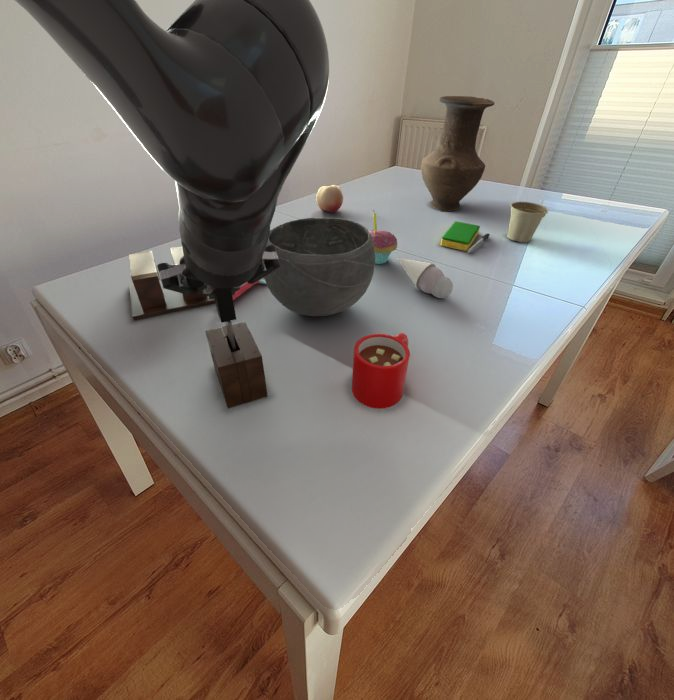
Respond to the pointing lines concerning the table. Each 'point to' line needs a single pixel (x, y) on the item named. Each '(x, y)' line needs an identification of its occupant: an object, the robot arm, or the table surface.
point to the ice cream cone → (427, 277)
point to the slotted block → (157, 289)
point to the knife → (478, 243)
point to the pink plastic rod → (247, 287)
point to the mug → (380, 369)
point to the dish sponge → (460, 236)
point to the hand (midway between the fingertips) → (219, 290)
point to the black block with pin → (226, 311)
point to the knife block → (237, 365)
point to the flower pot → (525, 220)
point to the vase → (455, 153)
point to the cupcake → (382, 243)
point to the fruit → (329, 198)
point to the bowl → (321, 265)
